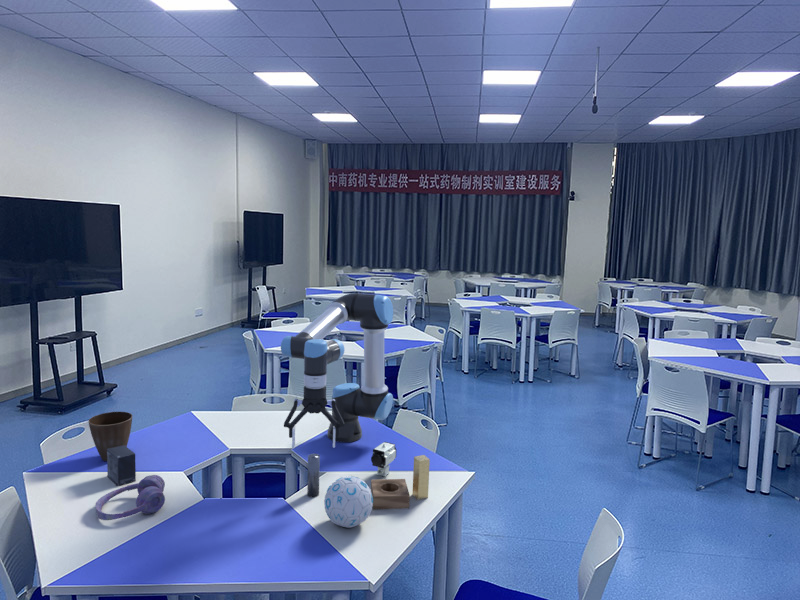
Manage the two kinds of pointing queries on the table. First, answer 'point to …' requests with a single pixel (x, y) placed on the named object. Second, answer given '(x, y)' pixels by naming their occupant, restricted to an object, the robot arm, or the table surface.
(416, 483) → the square bit
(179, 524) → the table surface
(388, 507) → the bore block
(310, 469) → the cylinder
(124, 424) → the plant pot
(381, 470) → the pneumatic valve
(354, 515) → the puzzle ball
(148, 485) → the headphones
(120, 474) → the small box
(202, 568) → the table surface
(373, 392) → the robot arm
